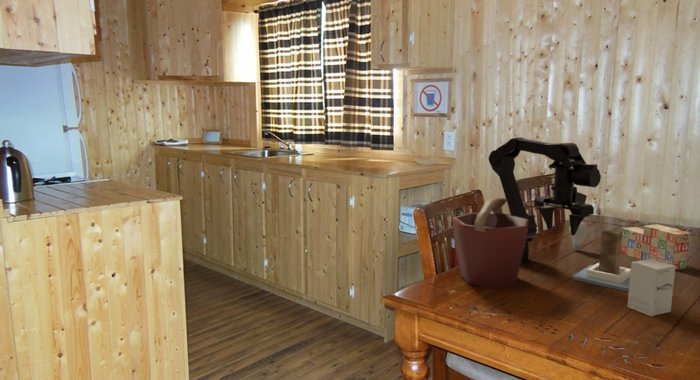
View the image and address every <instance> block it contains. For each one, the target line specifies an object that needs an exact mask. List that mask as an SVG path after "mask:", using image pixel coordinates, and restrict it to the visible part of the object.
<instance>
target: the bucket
mask: <svg viewBox="0 0 700 380" xmlns="http://www.w3.org/2000/svg"><path fill="white" fill-rule="evenodd" d="M505 204H507V199H506V198H502V197H491V198H489V199H487V200H486V201H485V203H484V204H483V205H482V207H481V209H480V210H479V212H469V213H466V214H465V213H464V214H462V215H459V216H458V215H457V216H453V217H452V230H453V236H454V241H455V247H456V255H457V259H458V265H459V270H460V277H462V278H463V279H464V280H465V281H466V282H467V284H468V285H473V286H477V287H478V286H479V287H484V288H490V289H498V288H506V287H507V286H508V287H513V286H516V283H517V279H518V276H519V272H520V267H521V264H522V262H521V260H522V256H523V252H524V248H525V244H526V240H527V234H528V219H526V218H522V217H517V216H513V215H511V214H509V213H508V214H507V213H504V212H503V206H504V205H505Z"/></svg>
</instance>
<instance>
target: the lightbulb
mask: <svg viewBox="0 0 700 380" xmlns="http://www.w3.org/2000/svg"><path fill="white" fill-rule="evenodd" d="M568 230H569V233H570V234H571V229H570V227H569V229H568ZM588 230H589V229H588V226H587V225H586V223H584V222H583V221H582V222H581V223H580V225H579V227H578V230H577V232H576V234H575V235H573V236H572V235H571V239H572V243H573V249H574V250H575V251H581V249H582V244H583V241H584V239H585V237H586V236H587V234H588Z"/></svg>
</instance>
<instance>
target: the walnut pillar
mask: <svg viewBox="0 0 700 380" xmlns="http://www.w3.org/2000/svg"><path fill="white" fill-rule="evenodd" d="M600 236H601V237H600V250H599V262H598V263H599V271H601V272H606V273H611V274H616V275H619V267H621V266H620V264H621V254H622V253H621V242H622V230H615V229H611V228H610V229H609V228H606V229H604V230H602V231H601V235H600Z"/></svg>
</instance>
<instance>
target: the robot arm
mask: <svg viewBox="0 0 700 380" xmlns="http://www.w3.org/2000/svg"><path fill="white" fill-rule="evenodd" d="M521 152H527V153H533V154H538V155H542V156H545V157H547V158H548V159H550V160H552V161H553V162H552V163H551V164H549V165H548V169H554V181H553V185H552V186H550V190H552V191H553V197H552V196H548V195H545V196H536V197H535V199H534V200H533V201H534V202H533V203H534V204H533V206H534V207H536V209H537V210H538V211H539V213H540V214H541V216H542V218H543V221H544V222H545V225H546V227H547V229H548V230H552V228H553V221H554V220H553V217H554V212H555V210H556V208H560V209H564V210H568V211H569V212H570V214H569V218H568V219H569V228H570V229H571V233H570V235H571V237H572V236H573V235H575V234H576V232H577V230H578V227H579V225H580V223H581V222H583V220H584V219H585V218H586V217H589V216H590V215H594V213H595V207H594V206H593V204H589V203H587V202H586V201H587V198H588V195H586V194H584V193H582V192H579V191H578V188H577V186H581V187H586V188H587V187H588V188H596V187H598V186H599V184H600V182H601V177H602V175H601V172H600V169H598V164H596V163H593V164H592V163H591V164H590V163H589V164H588V163H587V162H586V161H585V158H584V157H583V156H582V154H581V153H580V149H579V147H578V145H577V144H576V143H574V142H557V143H552V142H551V143H550V142H544V141H540V140H534V139H528V138H523V137H512V138H510V139H508V141H506V142H505V143H504V144H502V145H500V146H499V147H498V148H497V147H496V149H495V150H491V152H490V153H489V155H488V162H489V164H490V166H491V169H492V170H493V171H494V172H495V173H496V174H497V176H498V178H499V180H500V183H501V187H502V190H503V193H504V197H505V199H507V201H506V204H507V206H508V209H509V213H510V215H513V216H517V217H522V218H526V219H528V234H527V240H526V244H525V248H524V252H523V256H522V260H521V263H523V262H529V261H532V258H530V257H529V253H530V248H529V243H531V242H532V241H533V239H534V237H535V236H536V234H537V232H538V224H537V223H536V218H535V216H534V214H533V215H530V214H528V213H527V212H526V209H525V206H524V203H523V200H522V195H521V193H520V189H519V185H518V182H517V180H516V176H515V174H514V172H515V171H514V170H515V167H516V163H515V162H516V161H515V159H516V158H517V157H518V156H519V155H520V153H521Z"/></svg>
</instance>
